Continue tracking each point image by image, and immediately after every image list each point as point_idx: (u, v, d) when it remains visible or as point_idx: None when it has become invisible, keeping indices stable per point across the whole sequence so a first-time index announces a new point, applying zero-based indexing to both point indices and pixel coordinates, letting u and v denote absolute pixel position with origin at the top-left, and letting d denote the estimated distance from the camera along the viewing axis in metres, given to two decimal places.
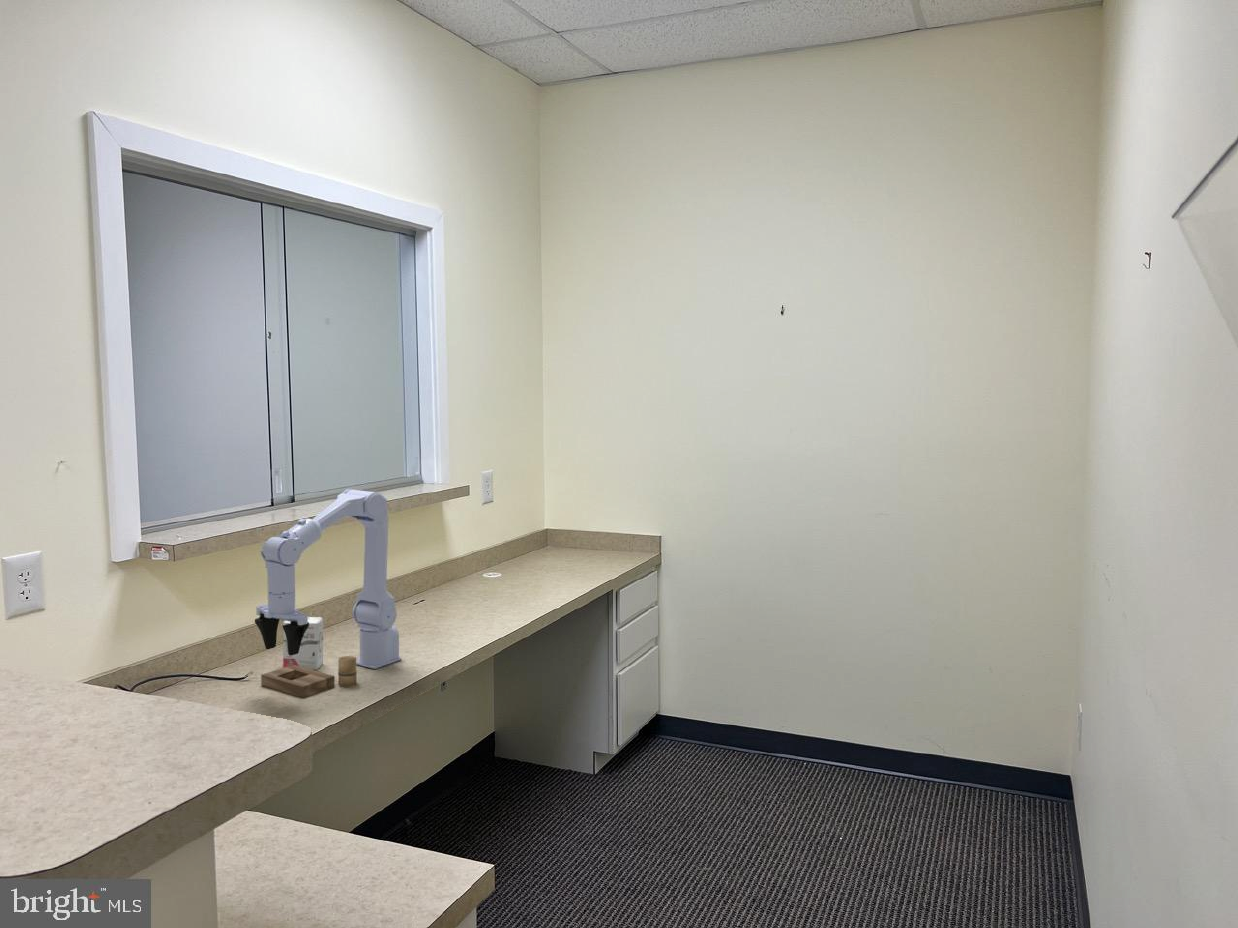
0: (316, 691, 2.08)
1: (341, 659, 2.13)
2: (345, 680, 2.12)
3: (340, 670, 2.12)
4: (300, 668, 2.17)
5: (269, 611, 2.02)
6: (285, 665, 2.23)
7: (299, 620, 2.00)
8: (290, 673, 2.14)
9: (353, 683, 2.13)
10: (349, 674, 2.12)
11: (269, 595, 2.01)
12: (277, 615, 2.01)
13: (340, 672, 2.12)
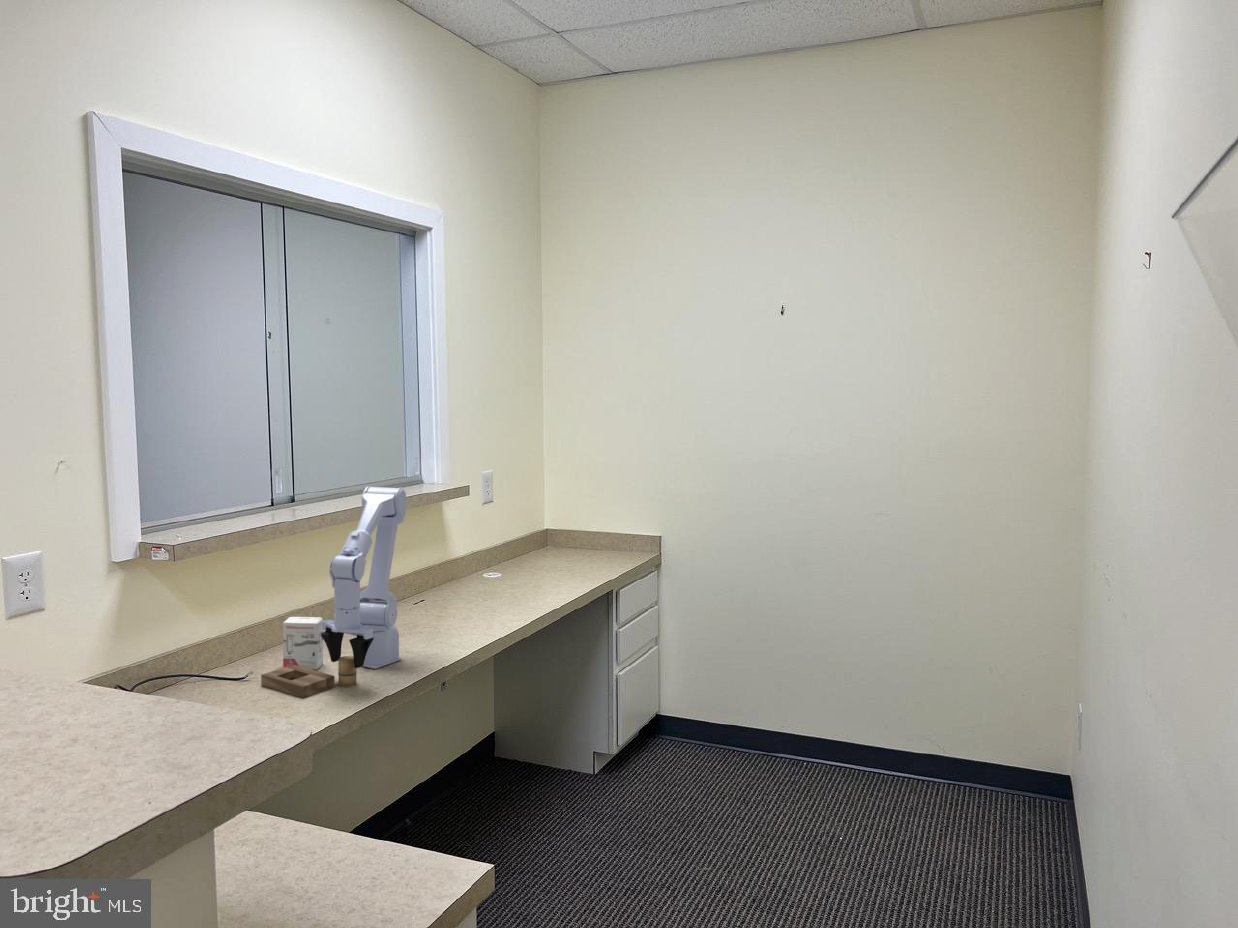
0: (316, 691, 2.08)
1: (341, 659, 2.13)
2: (345, 680, 2.12)
3: (340, 670, 2.12)
4: (300, 668, 2.17)
5: (336, 625, 2.11)
6: (285, 665, 2.23)
7: (365, 634, 2.09)
8: (290, 673, 2.14)
9: (353, 683, 2.13)
10: (349, 674, 2.12)
11: (336, 610, 2.10)
12: (344, 629, 2.10)
13: (340, 672, 2.12)
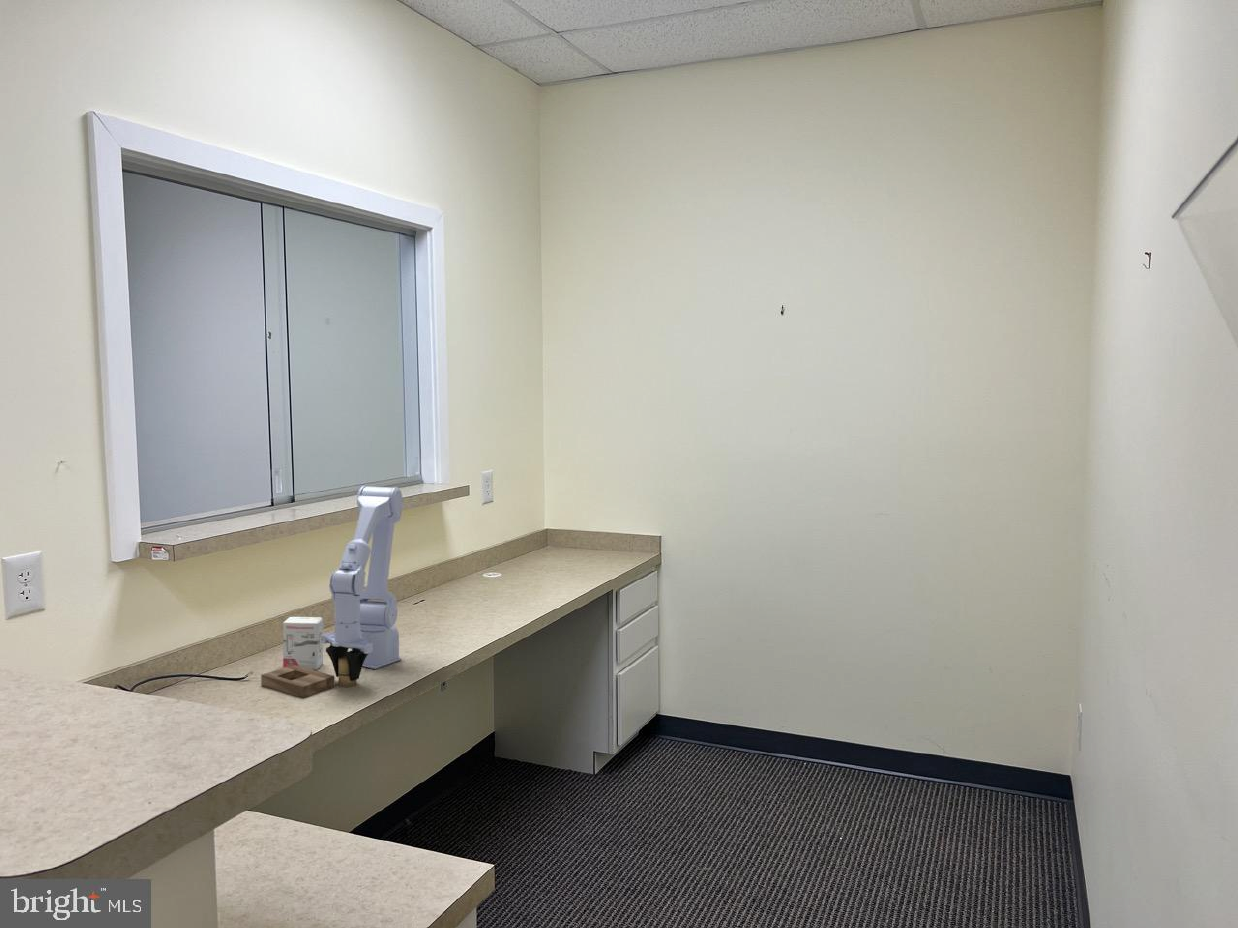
0: (316, 691, 2.08)
1: (341, 659, 2.13)
2: (345, 680, 2.12)
3: (340, 670, 2.12)
4: (300, 668, 2.17)
5: (336, 640, 2.11)
6: (285, 665, 2.23)
7: (365, 649, 2.09)
8: (290, 673, 2.14)
9: (353, 683, 2.13)
10: None
11: (336, 624, 2.11)
12: (344, 644, 2.10)
13: (340, 672, 2.12)
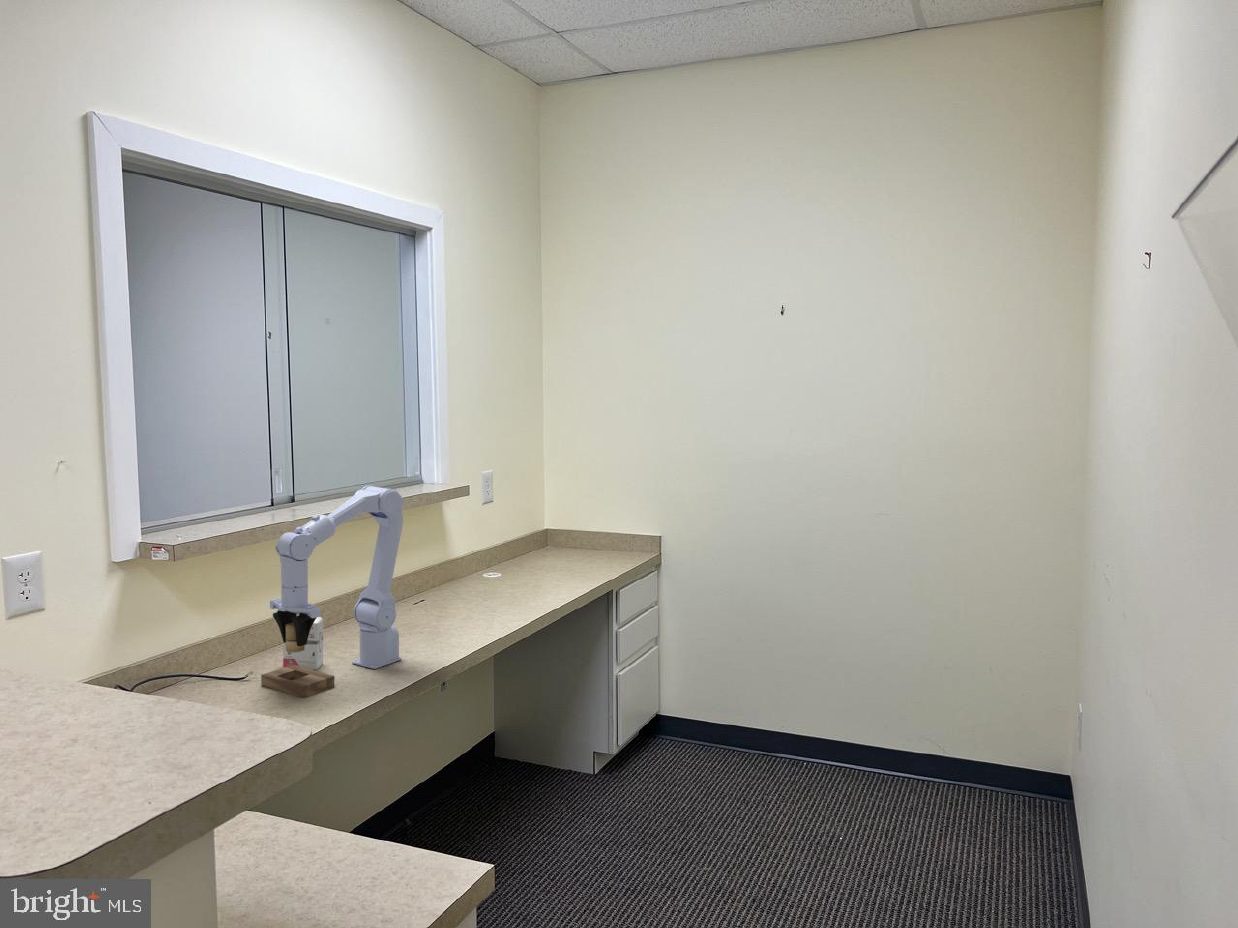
0: (316, 691, 2.08)
1: (288, 624, 2.10)
2: (291, 646, 2.09)
3: (287, 635, 2.09)
4: (300, 668, 2.17)
5: (283, 604, 2.08)
6: (285, 665, 2.23)
7: (312, 613, 2.06)
8: (290, 673, 2.14)
9: (300, 649, 2.10)
10: None
11: (283, 589, 2.08)
12: (290, 608, 2.07)
13: (287, 637, 2.09)
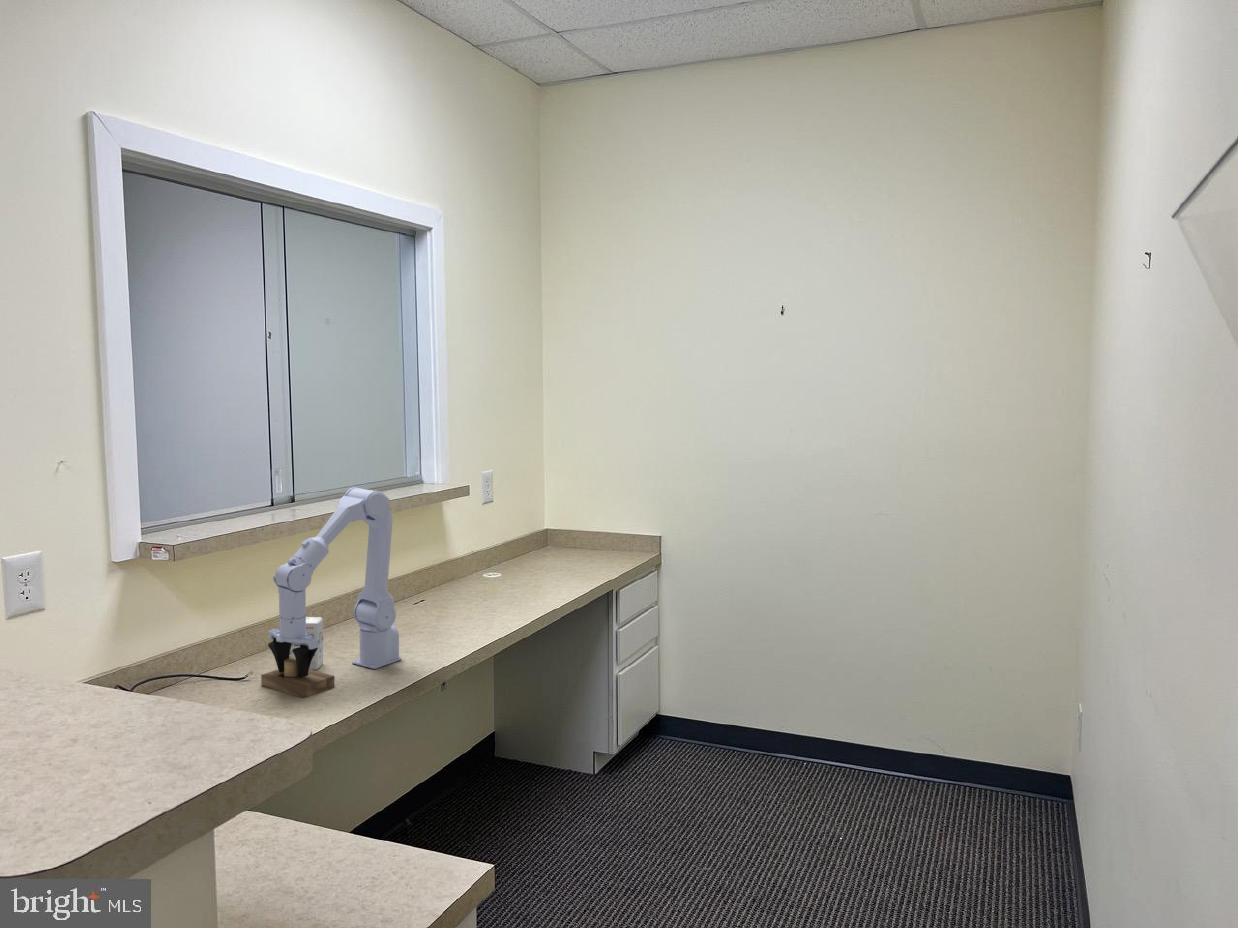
0: (316, 691, 2.08)
1: (286, 661, 2.11)
2: None
3: (285, 672, 2.10)
4: None
5: (281, 635, 2.09)
6: None
7: (310, 644, 2.07)
8: None
9: None
10: (294, 676, 2.10)
11: (281, 620, 2.08)
12: (288, 639, 2.08)
13: (285, 674, 2.10)
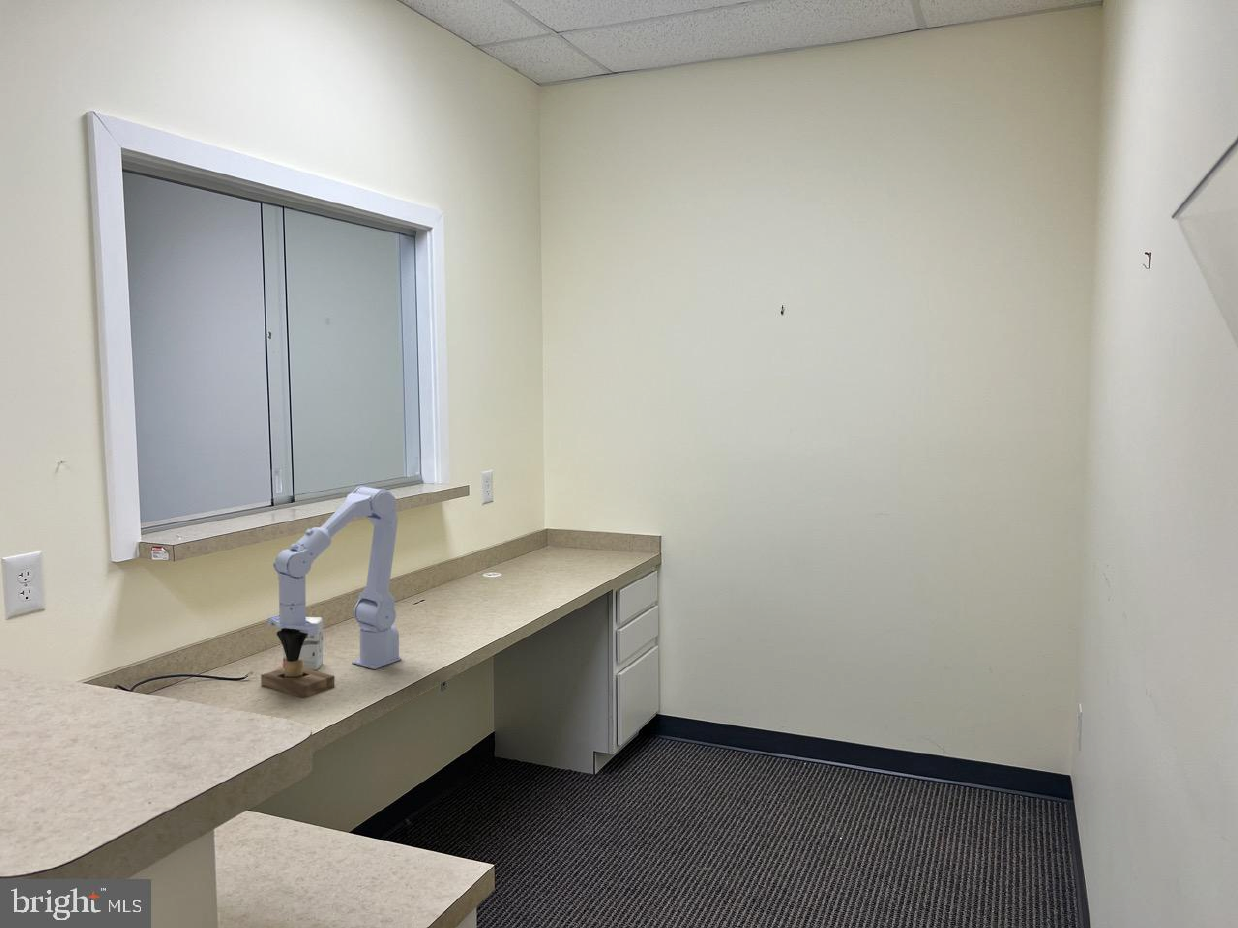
0: (316, 691, 2.08)
1: None
2: None
3: (286, 672, 2.10)
4: None
5: (280, 622, 2.08)
6: None
7: (310, 630, 2.06)
8: None
9: None
10: (294, 676, 2.10)
11: (281, 606, 2.08)
12: (288, 626, 2.07)
13: (286, 674, 2.10)
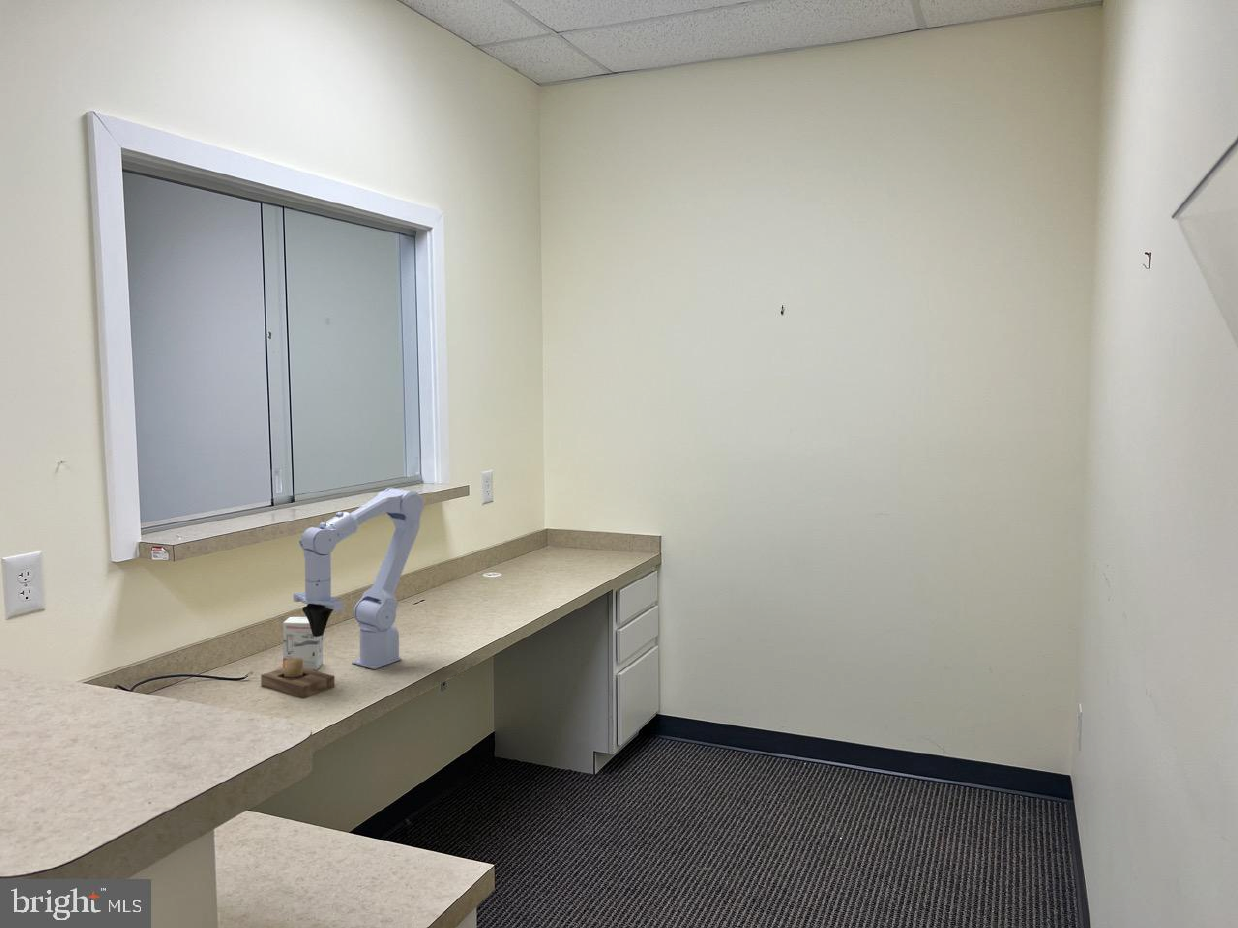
0: (316, 691, 2.08)
1: (287, 661, 2.11)
2: None
3: (285, 672, 2.10)
4: None
5: (306, 597, 2.13)
6: None
7: (335, 606, 2.11)
8: None
9: None
10: (294, 676, 2.10)
11: (306, 582, 2.13)
12: (314, 601, 2.12)
13: (285, 674, 2.10)
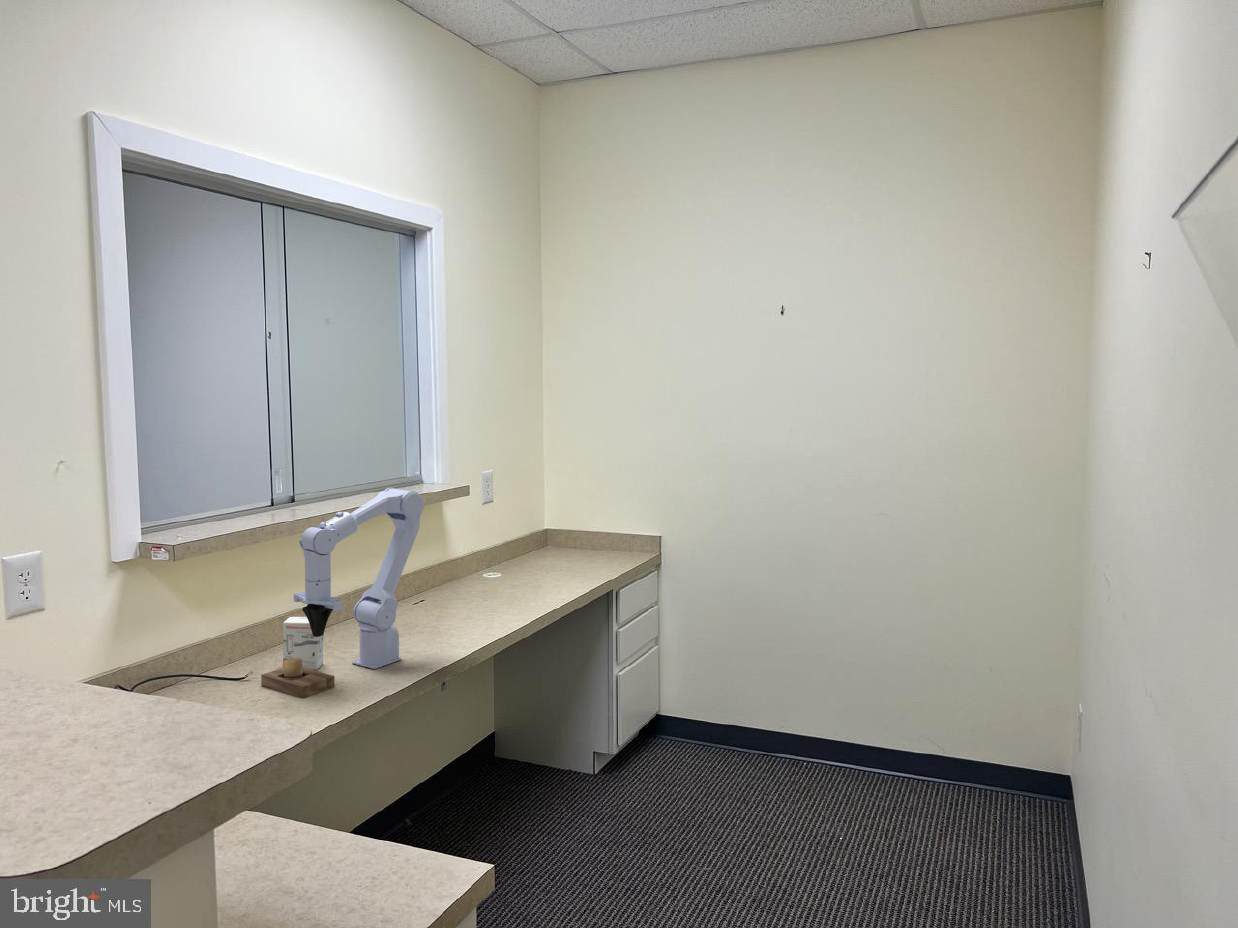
0: (316, 691, 2.08)
1: (286, 661, 2.11)
2: None
3: (285, 672, 2.10)
4: None
5: (306, 597, 2.13)
6: None
7: (335, 606, 2.11)
8: None
9: None
10: (294, 676, 2.10)
11: (306, 582, 2.13)
12: (314, 601, 2.12)
13: (285, 674, 2.10)
